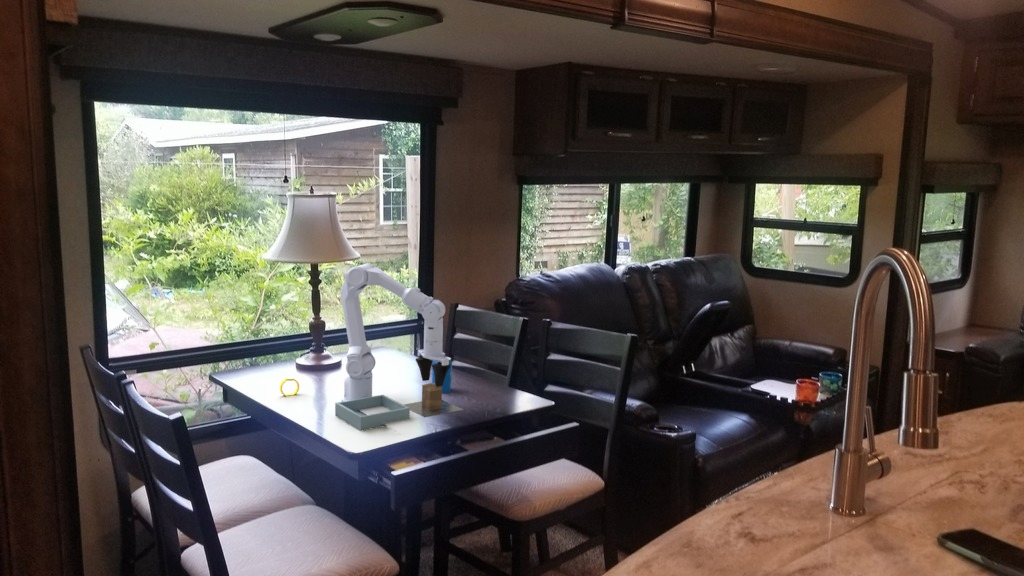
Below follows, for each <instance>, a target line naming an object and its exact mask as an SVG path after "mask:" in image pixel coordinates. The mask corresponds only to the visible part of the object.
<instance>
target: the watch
mask: <svg viewBox="0 0 1024 576" xmlns="http://www.w3.org/2000/svg"><path fill="white" fill-rule="evenodd" d="M291 381H293V382H295V383H296V388H295V391H293V393H284V391H283V386H284V384H285V383H286V382H291ZM299 390H300V383H299V381H298V380H297V379H296V378H295V377H294V376H286V377H284V379H283V380H282V381H281V383H280V384H279V391H280V393H281V394H282V395H283V396H285V397H290V396H295V395H296V394H297V393H298V392H299Z"/></svg>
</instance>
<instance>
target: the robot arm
mask: <svg viewBox="0 0 1024 576" xmlns="http://www.w3.org/2000/svg"><path fill="white" fill-rule="evenodd" d="M343 276H344V279H343V282H342V285H341V289H340V290H339V291H340V300H341V306H342V311H343V316H344V322H345V328H346V335H347V340H348V341H347V342H348V346H349V347H348V351H347V354H346V358H347V359H346V360H347V361H346V365H345V370H346V373H347V376H346V377H345V378H344V387H343V388H344V389H343V390H344V394H343V396H344V397H343V398H341V402H343V401H349V400H355V399H361V398H366V397H372V396H373V370H374V368H375V366H376V358H375V356H374V355H373V353H372V349H371V347H370V346H369V345H368V344H367V339H366V333H365V326H364V321H363V315H362V307H361V303H360V297H359V295H360V294H361V293H362V292H363V291H364V289H365V288H366V287H367V286H380V287H382V288H384V289H385V290H387V291H388V292H391V293H393V294H395V295H396V296H398V297H400V298H401V300H402V302H403V304H404V305H405V306H408V307H409V308H411V309H412V310H414V311H415V312H417V313H418V314H421V316H422V318H423V319H424V325H423V328H424V329H423V348H422V349H417V358H415V362H416V364H417V366H418V368H419V371H420V376H421V381H422V382H427V381H430V378H431V368H433V370H434V375H435V385H436V387H440V386H443V382H444V379H445V376H446V373H447V371H448V369H449V368H450V364H449V359H448V358H446V357H447V356H446V353H445V352H444V351H443V345H444V344H443V341H444V340H443V339H444V338H443V337H444V336H443V335H444V318H443V316H444V315H445V313H446V305H445V304H444V303H443V302H442V301H441V300H440V299H434V297H432V296H428V295H426V294H424V292H421V289H420V288H419V287H413V286H412V287H409V288H408V287H406V286H405V285H403V284H402V283H401V282H399V281H397V279H394V278H393V277H391V276H390V275H389V274H387V273H385V272H384V271H383V270H382V269H380V268H379V267H377V266H374V265H373V264H371V263H368V262H367V263H364V264H361V265H356V266H353V267H351V268H349V269H348V270H347V271H346V272H345V274H344V275H343ZM433 361H435V362H438V364H433Z"/></svg>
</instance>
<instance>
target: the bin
mask: <svg viewBox="0 0 1024 576" xmlns="http://www.w3.org/2000/svg"><path fill="white" fill-rule="evenodd" d="M334 404H335V408H334V409H335V411H334V415H335V417H337V418H338V419H340V420H342V421H343V422H345V423H346V424H348V425H350V426H352V427H353V428H355V429H357V431H360V432H361V431H362V430H363V431H366V429H368V430H371V429H370V428H373V429H376V427H378V428H382V426H383V427H387V423H390V422H396V421H401V420H407V419H410V416H411V410H410V408H409V407H407V406H405V405H404V404H402V403H400V402H398V401H397V400H395V399H392V398H390V397H388V396H386V395H385V394H379V395H372V397H366V398H361V399H355V400H348V401H338V402H334ZM380 406H383V407H385V408H386V409H388V410H387V411H382V412H377V413H371V414H366V413H365V412H363V411H361V410H362V409H369V408H374V407H380ZM363 431H362V432H363Z"/></svg>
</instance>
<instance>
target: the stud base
mask: <svg viewBox="0 0 1024 576" xmlns="http://www.w3.org/2000/svg"><path fill="white" fill-rule="evenodd" d="M403 405H405V406H407V407H409V408H410V412H413V413H415V414H417V415H418V416H421V417H423V418H429V417H434V416H440V415H443V414H450V413H453V412H458V411H463V410H464V408H461V407H458V406H456V405H454V404H452V403H450V402H447V401H445V400H443V399H442V408H439V409H434V410H428V409H426V408H424V407H422V400H421V401H414V402H409V403H404V404H403Z"/></svg>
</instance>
